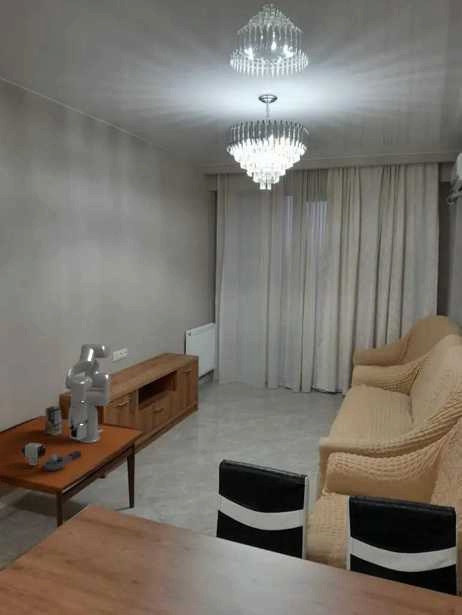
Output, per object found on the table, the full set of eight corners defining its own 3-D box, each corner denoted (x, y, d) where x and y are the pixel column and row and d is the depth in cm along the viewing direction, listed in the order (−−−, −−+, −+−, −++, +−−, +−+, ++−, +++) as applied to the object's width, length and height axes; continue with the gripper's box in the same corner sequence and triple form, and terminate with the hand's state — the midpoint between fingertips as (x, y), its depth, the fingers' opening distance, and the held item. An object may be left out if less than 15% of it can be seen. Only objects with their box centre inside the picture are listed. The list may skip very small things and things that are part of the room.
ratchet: (73, 453, 269) (73, 442, 269) (84, 457, 265) (84, 445, 264) (41, 468, 250) (41, 456, 249) (52, 473, 246) (52, 460, 245)
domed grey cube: (78, 434, 259) (78, 420, 258) (86, 436, 256) (86, 422, 255) (70, 437, 254) (70, 423, 253) (78, 440, 251) (78, 426, 250)
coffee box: (62, 432, 299) (62, 408, 297) (54, 436, 293) (54, 411, 291) (53, 429, 303) (53, 405, 301) (45, 432, 298) (45, 408, 296)
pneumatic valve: (41, 467, 251) (40, 446, 250) (21, 464, 253) (21, 443, 252) (47, 463, 256) (47, 442, 255) (28, 460, 259) (27, 439, 257)
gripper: (85, 397, 262) (84, 428, 264) (60, 405, 247) (60, 438, 249) (95, 400, 258) (94, 431, 260) (71, 408, 243) (70, 441, 245)
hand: (78, 434), depth 255 cm, fingers closed on domed grey cube, 6 cm apart
